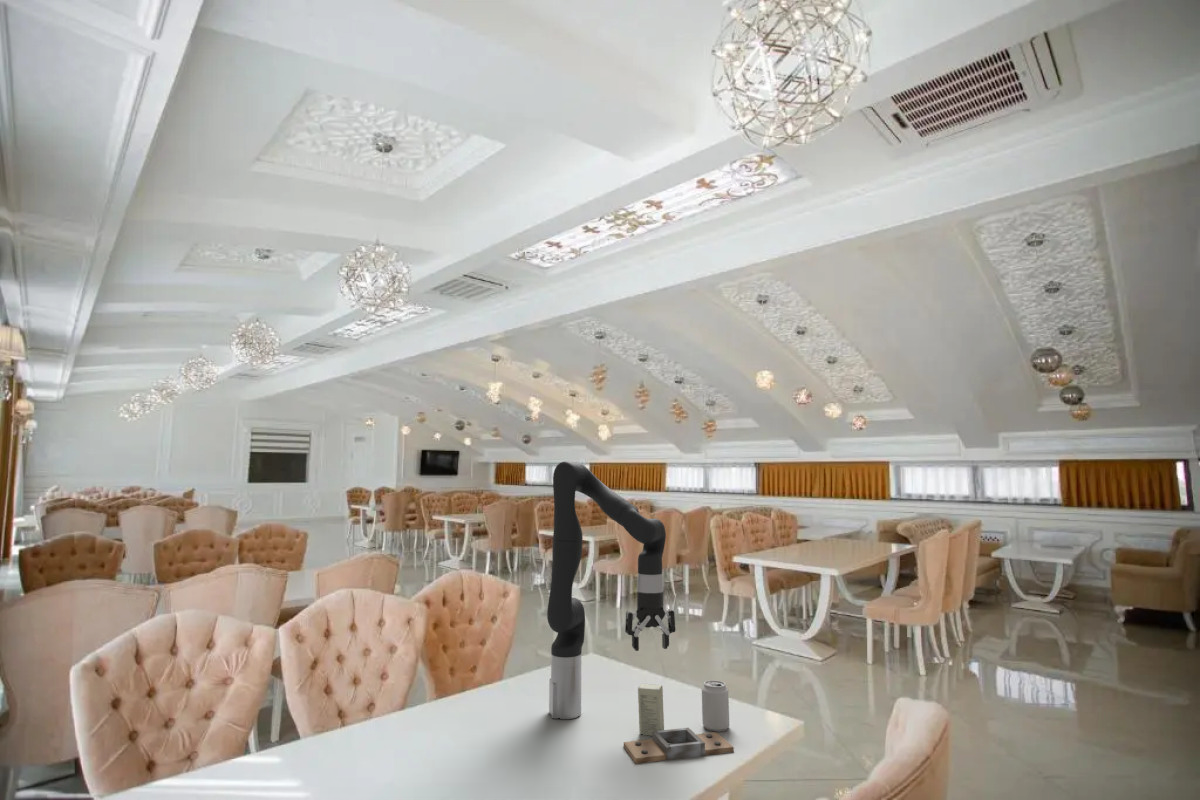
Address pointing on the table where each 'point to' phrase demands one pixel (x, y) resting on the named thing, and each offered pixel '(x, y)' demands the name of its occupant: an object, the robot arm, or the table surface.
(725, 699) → the can
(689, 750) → the mounting bracket
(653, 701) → the skincare box
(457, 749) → the table surface
